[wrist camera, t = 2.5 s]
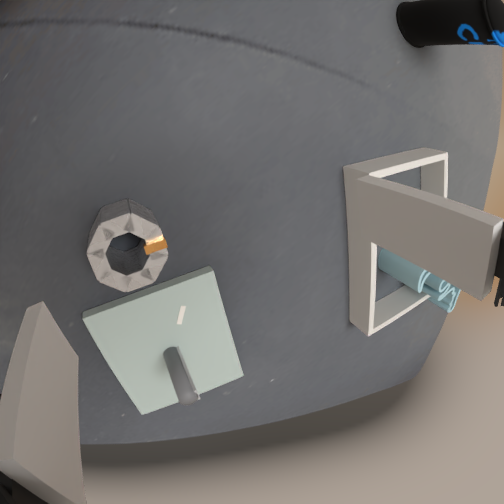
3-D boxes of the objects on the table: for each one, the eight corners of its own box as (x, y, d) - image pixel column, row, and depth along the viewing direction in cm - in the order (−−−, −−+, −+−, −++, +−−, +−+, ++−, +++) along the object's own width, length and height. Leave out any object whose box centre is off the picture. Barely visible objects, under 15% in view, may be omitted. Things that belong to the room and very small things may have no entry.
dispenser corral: (349, 321, 52) (368, 336, 48) (342, 166, 40) (368, 173, 36) (418, 280, 57) (436, 291, 53) (423, 147, 46) (447, 152, 41)
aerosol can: (392, -4, 33) (505, -20, 16) (423, 8, 36) (526, 2, 19) (399, 43, 37) (518, 40, 20) (430, 51, 39) (536, 55, 23)
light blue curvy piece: (437, 248, 58) (473, 266, 50) (417, 292, 60) (451, 313, 52) (392, 219, 49) (437, 239, 41) (367, 274, 50) (407, 301, 43)
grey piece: (105, 273, 33) (106, 303, 27) (83, 213, 29) (77, 234, 24) (165, 251, 35) (177, 277, 29) (147, 191, 32) (155, 205, 26)
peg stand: (140, 407, 41) (153, 458, 33) (82, 311, 33) (80, 365, 25) (239, 369, 46) (268, 413, 38) (209, 265, 38) (240, 306, 30)
